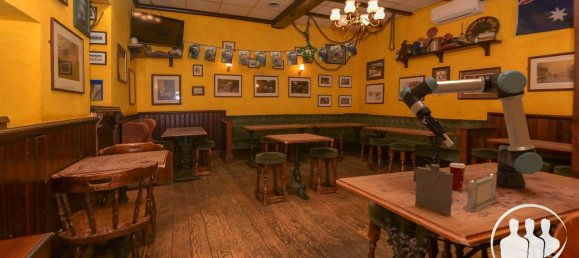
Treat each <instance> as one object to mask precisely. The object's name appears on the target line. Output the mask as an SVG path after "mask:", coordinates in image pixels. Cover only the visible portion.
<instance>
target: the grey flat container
mask: <svg viewBox="0 0 579 258" xmlns="http://www.w3.org/2000/svg"><path fill="white" fill-rule="evenodd" d="M424 168H429V169H431V165H430V164H425V167H424ZM416 178H417V168H416V169H413V182H415V181H416Z"/></svg>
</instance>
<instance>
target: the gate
mask: <svg viewBox="0 0 579 258" xmlns="http://www.w3.org/2000/svg"><path fill="white" fill-rule="evenodd" d="M476 181H477V184H476V200H475V206H477V205H478V204H480V203H482V202H484V201H487V200H489V199H491V187H492V181H493V178H492V177H488V176H485V177H484V178H480V179H477V180H476Z"/></svg>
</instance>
